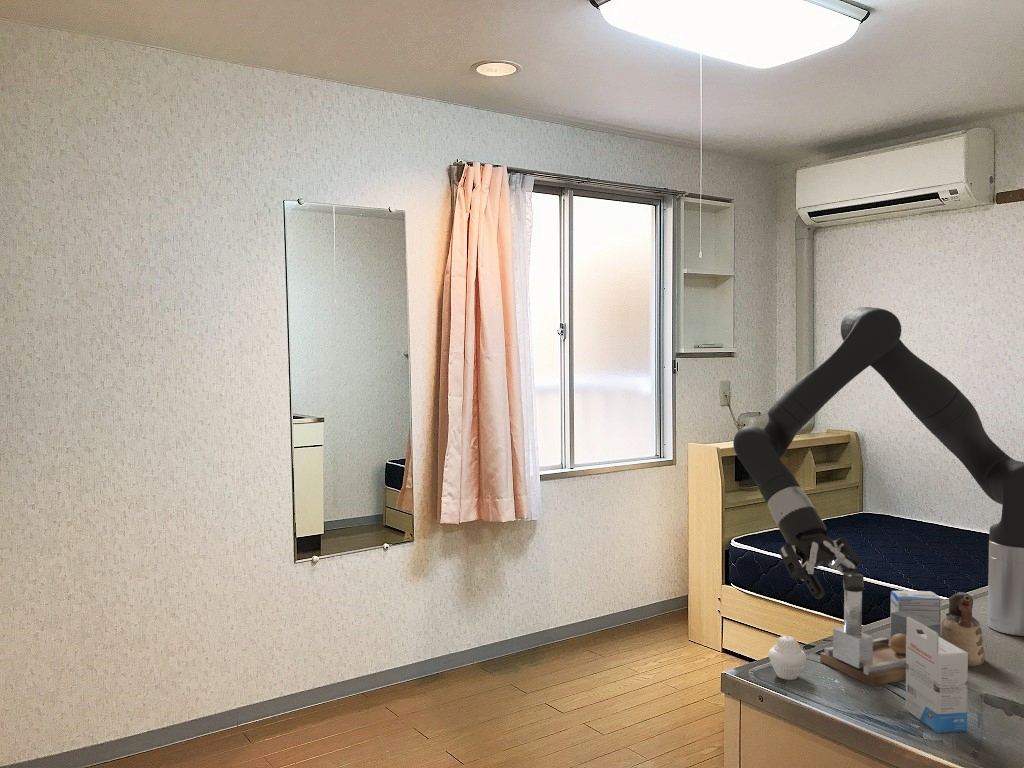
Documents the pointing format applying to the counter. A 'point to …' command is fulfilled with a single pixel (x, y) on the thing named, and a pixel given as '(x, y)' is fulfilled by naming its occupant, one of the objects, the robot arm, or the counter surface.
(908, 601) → the medicine box
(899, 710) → the counter surface
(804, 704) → the counter surface
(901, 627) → the grey metal frame
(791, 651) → the muffin
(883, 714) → the counter surface
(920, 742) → the counter surface
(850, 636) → the press handle
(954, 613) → the figurine
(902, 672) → the wooden tray with rails
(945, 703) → the ink box
